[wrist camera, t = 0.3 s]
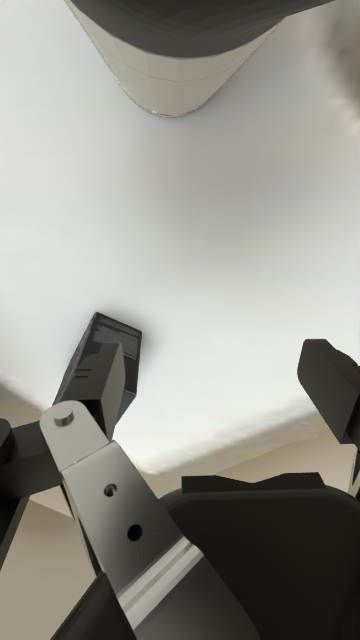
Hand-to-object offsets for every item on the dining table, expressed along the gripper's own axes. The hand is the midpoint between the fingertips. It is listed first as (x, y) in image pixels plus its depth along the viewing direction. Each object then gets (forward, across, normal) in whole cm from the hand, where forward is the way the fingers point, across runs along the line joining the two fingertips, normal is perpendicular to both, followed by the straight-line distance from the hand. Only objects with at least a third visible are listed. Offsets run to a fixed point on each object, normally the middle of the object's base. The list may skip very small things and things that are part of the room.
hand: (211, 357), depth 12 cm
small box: (+20, +11, +12) cm, 26 cm away
